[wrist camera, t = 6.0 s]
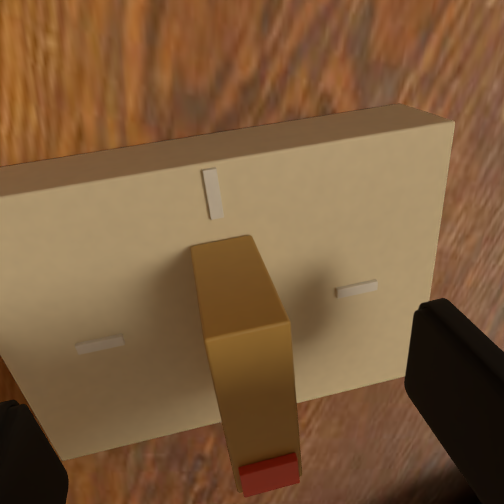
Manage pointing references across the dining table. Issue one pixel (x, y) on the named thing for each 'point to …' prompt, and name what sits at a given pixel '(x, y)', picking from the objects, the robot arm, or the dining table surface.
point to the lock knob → (249, 363)
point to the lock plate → (181, 270)
